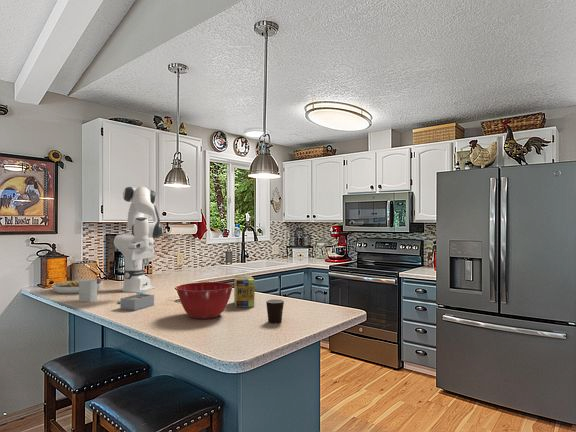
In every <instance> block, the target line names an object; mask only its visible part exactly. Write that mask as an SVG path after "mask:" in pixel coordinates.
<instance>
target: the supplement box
mask: <svg viewBox="0 0 576 432" xmlns="http://www.w3.org/2000/svg"><path fill="white" fill-rule="evenodd" d="M96 300H98V290H97V279H96V278H84V279H81V280H80V281H79V293H78V302H85V303H88V302H89V303H91V302H93V301H94V302H95V301H96Z"/></svg>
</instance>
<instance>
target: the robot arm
mask: <svg viewBox="0 0 576 432" xmlns="http://www.w3.org/2000/svg"><path fill="white" fill-rule="evenodd" d="M122 198H123V200H124V201H126V202H129V203H130V205H129V208H128V214H127V223H126V225H127V227H128V229H129V230H131V233H120V234H116V236H115V237H114V239H113V245H114V248H116V249H117V250H118V251H119V252H120V253H121V254H122V255H123V260H124V271H123V275H124V278H123V284H122V285H123V286H122V289H121V290H122V292H124V293H125V292H126V293H127V292H128V293H134V292H136V293H137V292H138V291H144V292H146V291H149V290H152V289H155V288H156V287H155V286H154V285H152V279H150V278H149V277H148V276H146V274H145V273H147V269H143V260H145V262H144V266H145V267H147V266H149V263H150V260H151V259H153V258H155V248H154V243H155V242H154V241H155V240H154V239H159V238H161V237H162V236H163V234H164V227H163V225H162V222H161V219H160V214H159V212H158V208H157V205H155V202H156V201H157V194H156V192H155V191H154V190H152V189H148V188H147V187H146V186H138V187H132V186H127V187H125V188H124V190H123V192H122ZM146 215H148V216H149V217H151V218H152V222H149V219H148V218H147V217H145V216H146Z"/></svg>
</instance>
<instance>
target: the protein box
mask: <svg viewBox="0 0 576 432" xmlns="http://www.w3.org/2000/svg"><path fill="white" fill-rule="evenodd" d="M233 278H234V285H233V288H234V290H233V291H234V294H233V295H234V296H233V297H234V298H233V300H234V301H233V303H234V305H235V308H237V309H239V308H241V309H243V308H255V289H256V287H255V282H256V281H255V279H254V277H252V276H250V275H248V276H243V275H242V276H234V277H233Z"/></svg>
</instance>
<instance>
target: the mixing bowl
mask: <svg viewBox="0 0 576 432" xmlns="http://www.w3.org/2000/svg"><path fill="white" fill-rule="evenodd" d="M233 288H234V285H233V284H232V283H227V282H221V281H220V282H218V281H217V282H216V281H214V282H213V281H212V282H211V281H204V282H203V281H202V282H191V283H190V282H189V283H183V284H180V285H177V286H176V290H177V294H178V298H179V300H180V304H181V306H182V307H183V309H184V311H185V313H186V314H187V315H188V316H189V317H191V318H193V319H197V320H199V319H200V320H203V319H204V320H205V319H206V320H207V319H213V318H217V317H219V315H221V314H222V313H223V312H224V311H225V309H226V307H227V305H228V302H229V300H230V298H231V294H232V291H233Z"/></svg>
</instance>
